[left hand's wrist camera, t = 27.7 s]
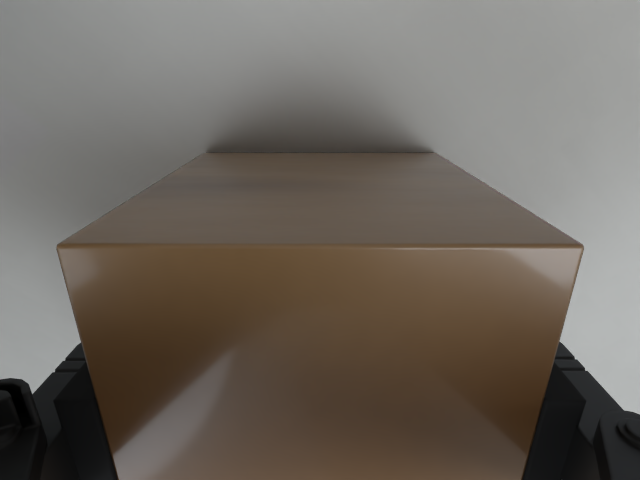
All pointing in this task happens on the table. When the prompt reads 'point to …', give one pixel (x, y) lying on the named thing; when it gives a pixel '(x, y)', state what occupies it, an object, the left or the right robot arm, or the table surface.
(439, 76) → the table surface
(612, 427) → the left robot arm
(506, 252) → the block
